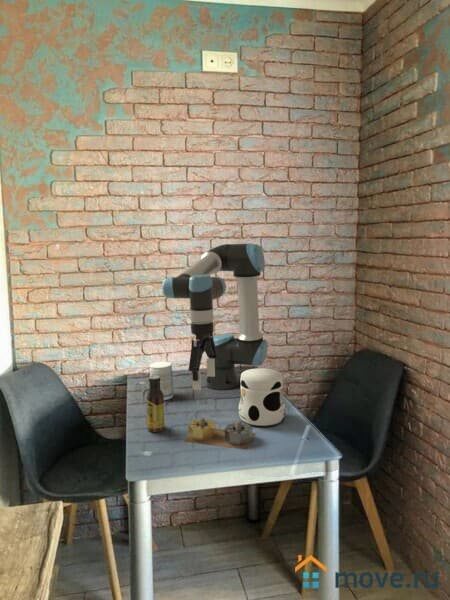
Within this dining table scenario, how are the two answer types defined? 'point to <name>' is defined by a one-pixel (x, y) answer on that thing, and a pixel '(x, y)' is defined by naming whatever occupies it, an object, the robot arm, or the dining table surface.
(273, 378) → the milk container
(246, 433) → the steel gear
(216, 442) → the gear board
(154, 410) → the sauce bottle
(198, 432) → the brass gear
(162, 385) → the supplement tub
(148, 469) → the dining table surface
